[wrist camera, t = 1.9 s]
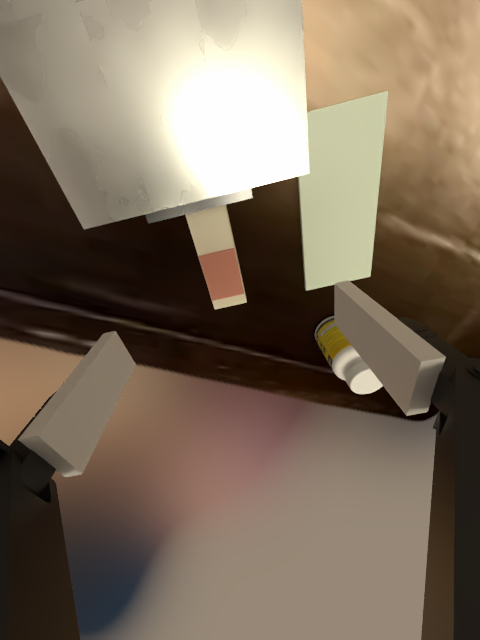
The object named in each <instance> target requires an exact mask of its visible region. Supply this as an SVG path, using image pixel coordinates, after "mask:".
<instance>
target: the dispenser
mask: <svg viewBox="0 0 480 640" xmlns="http://www.w3.org/2000/svg"><path fill="white" fill-rule="evenodd" d="M0 76H1V78H2V80H3V82H4V84H5V86H6V87H7V89H8V91H9V93H10V95H11V97H12V98H13V100H14V102H15V104H16V106H17V108H18V109H19V111H20V113H21V115H22V117H23V119H24V120H25V122H26V124H27V126H28V128H29V130H30V131H31V133H32V135H33V137H34V139H35V141H36V142H37V144H38V146H39V148H40V150H41V152H42V153H43V155H44V157H45V159H46V161H47V163H48V164H49V166H50V168H51V170H52V172H53V174H54V175H55V177H56V179H57V181H58V183H59V185H60V186H61V188H62V190H63V192H64V194H65V196H66V197H67V199H68V201H69V203H70V205H71V207H72V208H73V210H74V212H75V214H76V216H77V218H78V219H79V221H80V223H81V225H82V227H83V229H88V228H92V227H96V226H100V225H104V224H108V223H112V222H116V221H120V220H124V219H128V218H132V217H136V216H140V215H144V214H145V216H146V218H147V221H148V223H153V222H157V221H161V220H165V219H169V218H173V217H177V216H181V215H185V214H189V213H193V212H197V211H202V210H206V209H210V208H214V207H218V206H222V205H226V204H230V203H234V202H238V201H242V200H246V199H250V198H253V197H252V191H251V188H253V187H257V186H261V185H265V184H269V183H273V182H277V181H281V180H285V179H289V178H293V177H297V176H301V175H305V174H309V152H308V128H307V105H306V82H305V59H304V35H303V12H302V0H0Z"/></svg>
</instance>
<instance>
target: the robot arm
mask: <svg viewBox="0 0 480 640" xmlns="http://www.w3.org/2000/svg"><path fill="white" fill-rule="evenodd" d="M335 325H336V326H337V327H338V329H339V330H340V331H341V332H342V334H343V335H344V336H345V338H346V339H347V340H348V341H349V343H350V344H351V345H352V347H353V348H354V349H355V350H356V352H357V353H358V354H359V355H360V357H361V358H362V359H363V361H364V362H365V363H366V364H367V366H368V367H369V368H370V370H371V371H372V372H373V373H374V375H375V376H376V377H377V378H378V380H379V381H380V382H381V384H382V385H383V386H384V387H385V389H386V390H387V391H388V393H389V394H390V395H391V396H392V398H393V399H394V400H395V401H396V403H397V404H398V405H399V407H400V408H401V409H402V410H403V412H404V413H405V414H406V416H408V415H414V414H419V413H425V412H428V409H429V406H430V403H431V402H432V403H433V404H434V405H435V406H436V407H437V408H438V409H439V413H438V415H437V418H436V421H435V423H434V426H433V428H434V429H436V443H435V456H434V471H433V485H432V498H431V512H430V526H429V540H428V553H427V568H426V582H425V595H424V597H425V598H424V610H423V624H422V637H421V640H480V359H477V358H468V357H467V356H465V355H464V354H463V353H461V352H460V351H458V350H457V349H456V348H454V347H453V346H451V345H450V344H449V343H447V342H446V341H445V340H443V339H442V338H440V337H439V336H436V334H435V333H433V332H432V331H431V330H428V328H426V327H425V326H424V325H422V324H421V323H419V322H417V321H415V320H412V319H410V318H407V317H403V318H398V319H397V318H396V317H394V316H393V315H392V314H390V313H389V312H388V311H387V310H385V309H384V308H383V307H382V306H380V305H379V304H378V303H376V302H375V301H374V300H373V299H371V298H370V297H369V296H368V295H366V294H365V293H364V292H362V291H361V290H360V289H359V288H357V287H356V286H355V285H354V284H352V283H351V282H350V281H348V280H347V281H343V282H338V283H335ZM135 365H136V364H135V362H134V361H133V359H132V357H131V356H130V354H129V352H128V351H127V349H126V347H125V346H124V344H123V342H122V341H121V339H120V338H119V336H118V334H117V333H116V331H113V332H108V333H104V334H103V335H102V336H101V337H100V339H99V340H98V341H97V342H96V343H95V345H94V346H93V347H92V348H91V350H90V351H89V352H88V353H87V355H86V356H85V357H84V358H83V360H82V361H81V362H80V363H79V365H78V366H77V367H76V368H75V369H74V371H73V372H72V373H71V374H70V376H69V377H68V378H67V379H66V381H65V382H64V383H63V384H62V386H61V387H60V388H59V389H58V391H56V392H55V393H54V394H53V395H52V396H51V397H49V399H48V400H47V401H46V402H45V403H44V405H43V406H42V409H40V410H39V411H38V412H37V413H36V414H35V417H33V418H32V419H31V420H30V422H29V423H28V424H27V425H26V427H25V428H24V429H23V430H22V431H21V433H20V434H19V435H18V436H17V438H16V439H15V440H14V441H13V443H12V444H11V445H10V446H8V445H7V444H5V443H4V442H3V441H1V440H0V640H80V635H79V629H78V623H77V616H76V609H75V603H74V597H73V590H72V584H71V577H70V571H69V565H68V558H67V552H66V545H65V539H64V533H63V526H62V519H61V513H60V507H59V501H58V494H57V487H56V483H55V481H54V480H53V479H51V477H52V476H53V474H54V472H55V470H57V471H58V472H59V473H60V474H62V475H63V476H64V477H68V476H74V475H80V474H82V473H83V471H84V469H85V467H86V465H87V463H88V461H89V459H90V457H91V455H92V453H93V451H94V449H95V447H96V445H97V443H98V441H99V439H100V437H101V435H102V433H103V431H104V429H105V427H106V425H107V422H108V420H109V418H110V416H111V414H112V412H113V410H114V408H115V406H116V404H117V402H118V400H119V398H120V396H121V394H122V392H123V390H124V388H125V386H126V384H127V382H128V380H129V377H130V376H131V374H132V371H133V369H134V367H135Z"/></svg>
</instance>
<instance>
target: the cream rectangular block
mask: <svg viewBox="0 0 480 640" xmlns="http://www.w3.org/2000/svg"><path fill="white" fill-rule="evenodd" d="M185 216H186V219H187V222H188V225H189V228H190V232H191V235H192V238H193V241H194V244H195V248H196V251H197V254H198V257H199V260H200V264H201V267H202V270H203V273H204V277H205V280H206V283H207V286H208V289H209V293H210V296H211V299H212V302H213V305H214V309H219V308H224V307H228V306H233V305H238V304H242V303H247V301H246V296H245V290H244V285H243V280H242V275H241V271H240V266H239V262H238V257H237V252H236V248H235V243H234V239H233V234H232V230H231V225H230V221H229V216H228V212H227V207H226V205H222V206H218V207H214V208H210V209H206V210H202V211H197V212H193V213H189V214H185Z"/></svg>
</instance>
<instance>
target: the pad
mask: <svg viewBox="0 0 480 640" xmlns="http://www.w3.org/2000/svg"><path fill="white" fill-rule="evenodd" d="M387 99H388V91H385V92H381V93H377V94H374V95H370V96H366V97H362V98H358V99H355V100H351V101H347V102H343V103H339V104H336V105H332V106H328V107H324V108H320V109H317V110H313V111H309V112H307V128H308V152H309V174H305V175H301V176H297V178H298V193H299V208H300V223H301V238H302V253H303V268H304V282H305V290H306V291H307V290H311V289H316V288H320V287H325V286H330V285H334V284H335V283H338V282H343V281H347V280H348V281H352V280H357V279H361V278H366V277H370V276H371V265H372V255H373V244H374V234H375V224H376V213H377V203H378V192H379V182H380V171H381V161H382V151H383V140H384V130H385V119H386V109H387Z"/></svg>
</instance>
